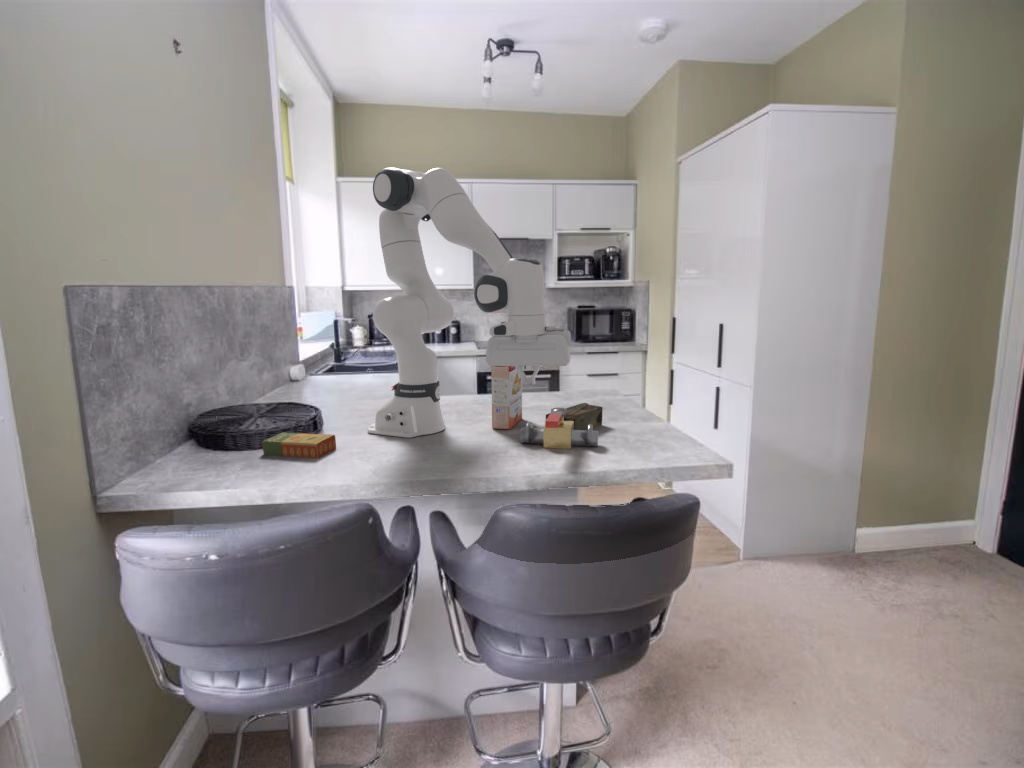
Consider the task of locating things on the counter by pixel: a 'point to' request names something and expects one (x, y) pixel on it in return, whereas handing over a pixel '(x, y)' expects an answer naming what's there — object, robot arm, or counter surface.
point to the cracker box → (506, 397)
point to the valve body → (559, 435)
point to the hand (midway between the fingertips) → (528, 384)
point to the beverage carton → (583, 416)
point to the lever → (555, 417)
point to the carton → (299, 445)
